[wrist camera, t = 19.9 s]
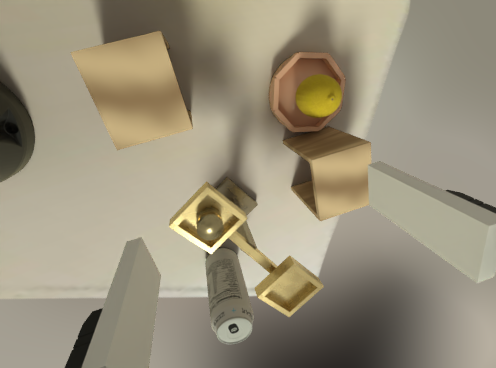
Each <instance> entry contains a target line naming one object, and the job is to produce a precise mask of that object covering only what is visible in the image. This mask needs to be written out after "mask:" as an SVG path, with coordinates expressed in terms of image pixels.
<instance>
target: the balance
mask: <svg viewBox="0 0 496 368" xmlns="http://www.w3.org/2000/svg"><path fill="white" fill-rule="evenodd" d="M257 205H258V204H257V202H256V201H255V200H254V199H253V198H251V197H250V196H249V195H248V194H247V193H245V192H244V191H243V190H242V189H241V188H240V187H238V186H237V185H236V184H235V183H234V182H233V181H231V180H230V179H229V178H228V177H226V178H225V179H224V180H223V181H222V183H221V184H220V185H219V186H218V187H217V188H216V189H215V188H214V187H213V186H211V185H210V184H209V183H208V182H206V183H205V184H204V185H203V186H202V187H201V188H200V189H199V190H198V191H197V192H196V193H195V194H194V195H193V196H192V197H191V198H190V199H189V200H188V201H187V202H186V203H185V205H184V206H183V207H182V208H181V209H180V210H179V211H178V212H177V213H176V214H175V215H174V216H173V217H172V218H171V219H170V224H169V227H170V228H172V229H173V230H175V231H176V232H178V233H179V234H181V235H182V236H184V237H186V238H187V239H189V240H190V241H192V242H193V243H195V244H196V245H198V246H199V247H201V248H202V249H204V250H205V251H207V252H209V253H210V254H212V253H213V252H214V251H215V250H216V249H217V248H218V247H219V246H220V245H221V244H222V243H223V242H224V241H225V240H226V239H227V238H229V239H230V240H231V241H233V242H234V243H235V244H236V245H237V246H238V247H240V248H241V250H242V251H243V252H245V253H246V254H247V255H249V256H250V257H251V258H253V259H254V260H255V261H256V262H257V263H259V264H260V265H261V266H262V267H263V268H264V269H266V270H267V271H268V272H269V273H270V274H269V275H268V276H267V277H266V278H265V279H264V280H263V281H262V282H261V283H260V284H258V285H257V286H256V287H255V291H256V294H257V297H258V298H259V299H261V300H262V301H264V302H266V303H267V304H269V305H270V306H272V307H274V308H275V309H277V310H278V311H280V312H282V313H283V314H285V315H287V316H288V317H290V316H291V315H292V314H293V313H294V312H295V311H297V310H298V309H299V308H300V307H301V306H302V305H303V304H305V303H306V302H307V301H308V300H309V299H310V298H311V297H313V296H314V295H315V294H316V293H317V292H318V291H319V290H320V289H322V288H323V287H324V286H323V284H322V283H321V281H320V280H319V278H318V277H317V276H315V275H314V274H313V273H311V272H310V271H309V270H308V269H306V268H305V267H304V266H303V265H301V264H300V263H299V262H297V261H296V260H295V259H294V258H292V257H291V256H289V257H288V258H286V259H285V260H284V261H283V262H282V263H281V264H280V265H279V266H276V265H275V264H274V263H273V262H272V261H271V260H270V259H268V258H267V257H266V256H265V255H264V254H263V253H261V252H260V251H259V250H258V249H257V247H256V244H255V242H254V239H253V237H252V234H251V232H250V229H249V227H248V224H247V222H246V220H247V215H248V214H249V213H250V212H251V211H252V210H253V209H254V208H255V207H256V206H257Z"/></svg>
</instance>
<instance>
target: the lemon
mask: <svg viewBox="0 0 496 368" xmlns="http://www.w3.org/2000/svg"><path fill="white" fill-rule="evenodd" d="M341 99H342V91H341V87H340V85H339V84H338V82H337V81H336V80H335V79H333V78H331V77H330V76H328V75H323V74H317V75H312V76H310V77H307V78H306V79H305V80H303V81H302V82H301V84H300V85H299V87H298V88H297V91H296V104H297V106H298V108H299V109H300V110H301V112H302V113H304V114H305V115H307V116H309V117H313V118H322V117H326V116H328V115H330V114H332V113H333V112H334V111H335V110H336V109H337V108H338V107H339V105H340V103H341Z"/></svg>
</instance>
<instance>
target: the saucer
mask: <svg viewBox="0 0 496 368" xmlns="http://www.w3.org/2000/svg"><path fill="white" fill-rule="evenodd" d="M317 74H323V75H328V76H330V77H331V78H333V79H335V80H336V81H337V82H338V84H339V85H340V87H341V91H342V99H341V103H340V105H339V107H338V108H337V109H336V110H335V111H334V112H333V113H332V114H330V115H328V116H326V117H322V118H313V117H309V116H307V115H305V114H304V113H302V112H301V110H300V109H299V108H298V106H297V104H296V91H297V88H298V87H299V85H300V84H301V82H302V81H303V80H305V79H306V78H307V77H310V76H312V75H317ZM344 78H345V76H344V74H343V73H342V71H341V70H340V68H339V67H338V66H337V64H336V63H335V61H334V60H333V58H332V57H331V55H330V54H328V53H315V52H297V53H294V54H293V55H292V56H291V57H290V58H288V59H287V60H285V61H284V62H283V63H282V64H281V65H280V66H279V67H278V69H277V70H276V72H275V73H274V75H273V77H272V80H271V83H270V87H269V103H270V107H271V110H272V112H273V114H274V116H275V117H276V118H277V120H278V121H279V122H280V123H282V124H283V125H284V126H286V127H287V128H288V130H290V131H292V132H312V131H319V130H321V129H322V128H323V127H324V126H325V125H326V124H327V123H328V122H329V121H330V120H331V119H332V118H333V117H334V116H335V115H336V114H337V113H338V112H339V111H340V109H341V108H342V102H343V95H344V88H345V81H346V79H344Z"/></svg>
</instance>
